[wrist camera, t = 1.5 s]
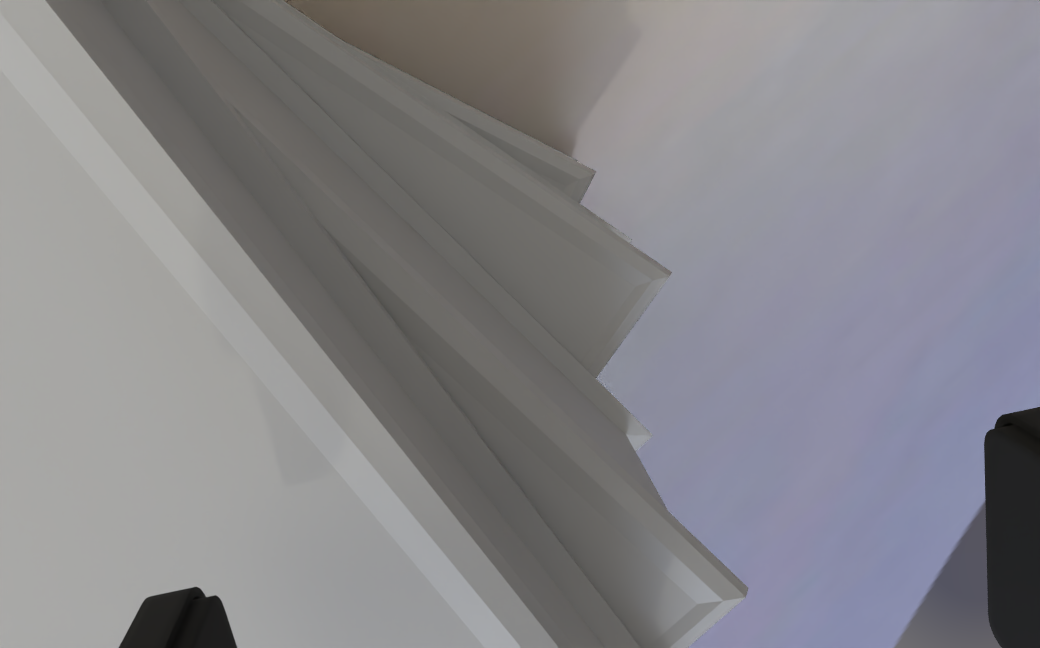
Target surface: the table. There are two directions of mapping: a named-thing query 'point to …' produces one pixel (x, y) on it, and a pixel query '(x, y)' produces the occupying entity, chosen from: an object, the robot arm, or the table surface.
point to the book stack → (310, 351)
